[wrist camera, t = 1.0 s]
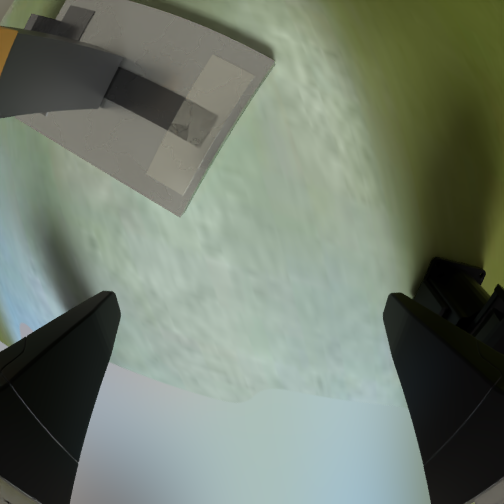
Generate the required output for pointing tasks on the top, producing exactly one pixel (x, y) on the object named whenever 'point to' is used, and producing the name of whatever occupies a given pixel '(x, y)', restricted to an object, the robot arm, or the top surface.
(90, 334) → the robot arm
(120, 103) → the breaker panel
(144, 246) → the top surface
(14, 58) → the handle
